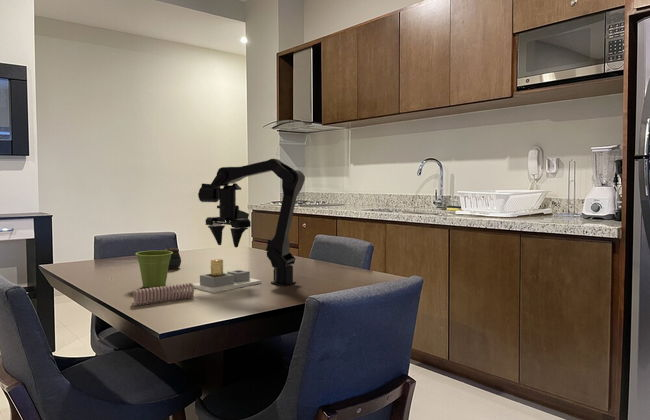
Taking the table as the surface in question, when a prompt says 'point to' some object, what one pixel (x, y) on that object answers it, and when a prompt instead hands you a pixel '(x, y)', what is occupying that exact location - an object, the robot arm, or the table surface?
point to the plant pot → (154, 267)
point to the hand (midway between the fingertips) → (227, 246)
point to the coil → (163, 294)
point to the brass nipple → (216, 268)
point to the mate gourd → (174, 258)
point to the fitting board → (225, 281)
